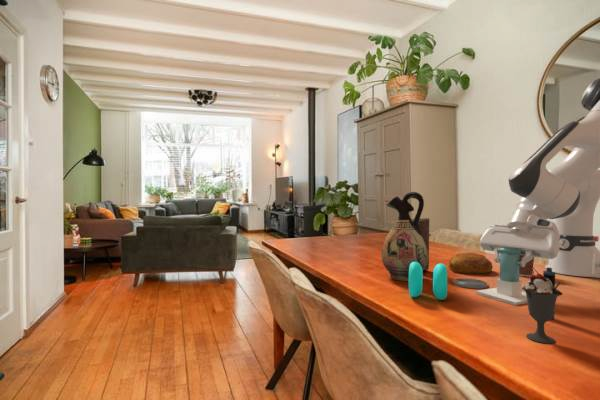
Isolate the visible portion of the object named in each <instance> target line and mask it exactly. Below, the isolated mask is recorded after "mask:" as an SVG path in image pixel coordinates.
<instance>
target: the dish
mask: <svg viewBox="0 0 600 400" xmlns="http://www.w3.org/2000/svg"><path fill="white" fill-rule="evenodd" d="M452 284H453V285H455V286H457V287H460V288H466V289H472V290H473V289H475V290H476V289H477V290H479V289H480V290H484V289H488V283H487V282H485V281H484V280H480V279H476V278H468V277H467V278H464V277H463V278H461V277H460V278H455V279H453V280H452Z"/></svg>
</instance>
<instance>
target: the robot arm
mask: <svg viewBox="0 0 600 400" xmlns="http://www.w3.org/2000/svg"><path fill="white" fill-rule="evenodd" d="M581 97H582V98H581V102H580V103H581V105H582V108H583V109H585V110H587V111H589V112H588V113H587V115H586V116H585V117H583V118H582V119H581V120H579V121H570V122H569V123H567V124H566V125H564V126H562V127H561V128H560V129H558V130H557V131H556V132H555V133H554V134H553V135H552V136H551V137H550V138H548V139H547V140H546V141H545V142H544V143H543V144H542V145H541V146H540V147H539V148H538V149H537V150H536V151H535V152H534V153H533V154H532V155H531V156H530V157H529V158H527V160H525V161H524V162H523V163H521V165H519V166H518V167H516V169H514V170H513V172H512V173H510V175H509V177H508V185H509V189H510V191H511V193H514V195H515V194H516V195H517V196H519V199H518V201H517V203H516V205H515V210H514V211H513V212H512V213H511V216H510V218H509V220H508V222H507V224H506V225H503V224H502V225H501V224H500V225H498V224H493V225H491V226H487V227H486V229H485V231H484V232H483V234H482V235H481V237H480V238H479V241H478V242H479V244H480V246H481V248H482V249H483V250H484V251H489V252H494V255H495V256H494V259H493V261H494V263H497V264H500V252H499V248H500V247H508V248H516V249H521V253H520V255H525V256H524V257H523V258H519V259H518V261H517V265H518V266H520V267H525V264H526V263H527V262H529V261H530V260H532V259H533V257H534V258H540V259H548V264H545V267H544V268H545V269H547V268H552V272H555V274H561V275H565V276H566V275H567V276H573V277H584V278H585V277H586V278H587V277H588V278H595V279H596V278H597V279H600V249H598V248H597V247H596V242H599V239H600V237H599V236H598V235H593V234H594V233H593V229H594V217H595V216H594V214H595V211H596V207H597V204H598V202H599V201H600V78H596V79H594V80H593V81H592V82H591V83H590V84H589V85H588V86H587V87H586V89H584V91H583V93H582V96H581ZM565 147H570V148H571V147H572V148H573V150H572V151H570V153H569V154H567V156H565V157H564V158H563V159H561V161H560V162H558V163H557V164H555V166H553V167H551V168H549V169H547V167H546V166H547V164H548V163H549V162H550V161H551V160H552V159H553V158H554V157H555V156H556V155H558V153H560V152H561V151H562V150H563V149H564V148H565ZM553 220H555V221H553Z"/></svg>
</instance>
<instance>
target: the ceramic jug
mask: <svg viewBox="0 0 600 400" xmlns="http://www.w3.org/2000/svg"><path fill="white" fill-rule="evenodd" d="M409 199H415V200H417V201H418V207H417V210H416V214H415V216H414V218H413V219H414V221H412V220H411V219H412V217H411V216H410V213H411V212H414V210H415V208H414V206H413V205H412V204H411V203H410V202H409ZM424 206H425V200H424V198H423V196H422V194H420V193H419V192H416V191H411V192H408V193H406V194H405V195H404V196H403V198H402V199H400V197H399V196H394V197H393V198H392V199H391V200H390V201H389V202H387V204H386V207H388V208H391V209H393V210H396V211H397V212H398V216H397V217H398V219H397V220H396V222H395V223H394V224H393V226H392V227H391V228H390V230H389V231H388V234H387V235H386V237H385V239H384V242H383V244H382V249H381V262H382V264H383V266H384V268H385V269H386V270H387V272H388V273H389V275H390V276H389V277H390V278H391V279H393V280H395V281H396V280H397V281H401V282H403V281H404V282H409V266H410V264H411V263H412V262H418V263H419V264H420V265H421V267H422V270H424V269H425V267H426V265H427V261H428V253H427V248H426V244H425V242H424V240H423V238H422V236H421V232H420V228H419V225H418V221H419V219H420V218H421V216H422V213H423V210H424ZM424 271H425V270H424Z"/></svg>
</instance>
